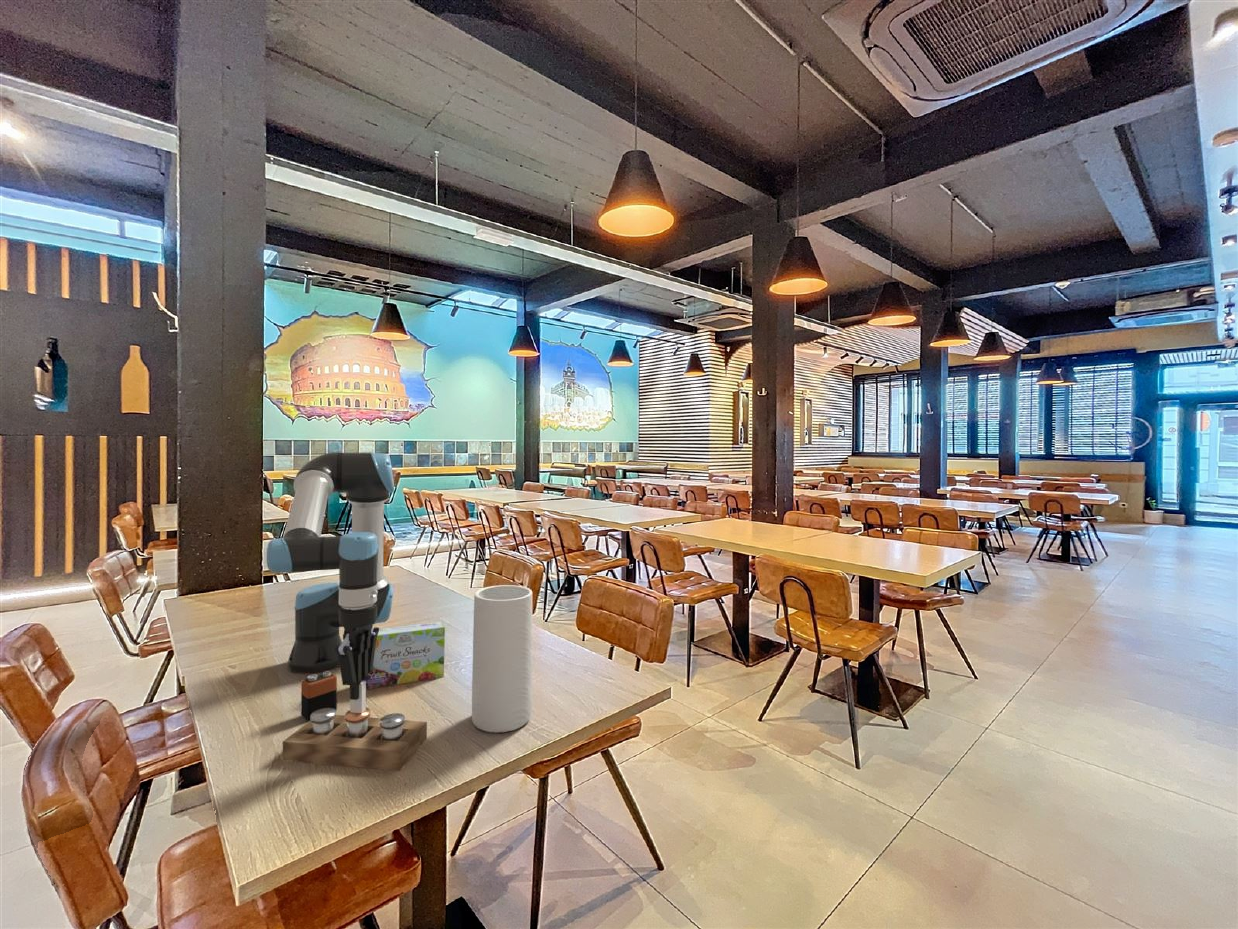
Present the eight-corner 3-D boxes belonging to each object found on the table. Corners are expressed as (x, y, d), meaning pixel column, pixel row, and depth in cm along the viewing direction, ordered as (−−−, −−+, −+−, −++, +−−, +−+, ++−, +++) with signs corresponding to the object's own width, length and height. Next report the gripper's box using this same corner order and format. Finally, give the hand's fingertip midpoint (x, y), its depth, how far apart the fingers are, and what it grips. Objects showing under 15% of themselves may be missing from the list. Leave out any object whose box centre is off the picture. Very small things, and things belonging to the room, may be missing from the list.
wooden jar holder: (282, 760, 114) (282, 741, 114) (319, 730, 126) (319, 713, 126) (400, 770, 112) (400, 751, 112) (426, 739, 124) (426, 722, 124)
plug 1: (305, 747, 118) (305, 718, 117) (320, 735, 123) (320, 707, 122) (326, 749, 117) (326, 720, 117) (340, 737, 122) (341, 708, 122)
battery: (300, 716, 133) (300, 676, 132) (329, 706, 138) (329, 667, 137) (308, 722, 130) (308, 681, 129) (337, 711, 135) (337, 672, 135)
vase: (476, 740, 124) (478, 603, 123) (467, 711, 137) (469, 587, 136) (537, 728, 130) (540, 597, 128) (523, 701, 143) (525, 582, 141)
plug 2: (375, 753, 116) (375, 724, 116) (387, 741, 121) (387, 712, 121) (397, 755, 116) (397, 725, 115) (408, 743, 120) (409, 714, 120)
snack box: (363, 691, 146) (363, 636, 146) (362, 683, 151) (362, 630, 151) (444, 677, 156) (445, 626, 155) (441, 670, 161) (441, 620, 160)
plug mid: (339, 747, 117) (339, 717, 117) (353, 734, 122) (353, 706, 122) (361, 749, 116) (361, 719, 116) (374, 736, 121) (374, 708, 121)
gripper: (357, 615, 111) (356, 728, 112) (390, 597, 124) (389, 698, 125) (322, 613, 112) (322, 725, 113) (359, 595, 125) (358, 696, 126)
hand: (357, 711), depth 119 cm, fingers closed
